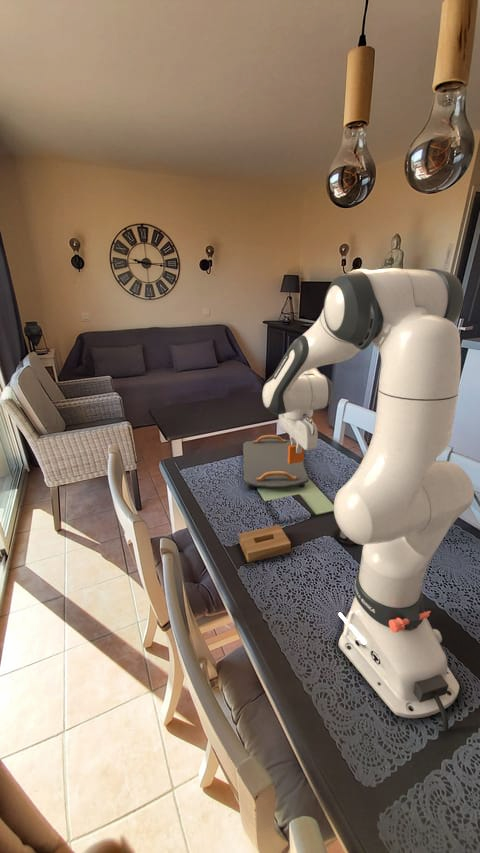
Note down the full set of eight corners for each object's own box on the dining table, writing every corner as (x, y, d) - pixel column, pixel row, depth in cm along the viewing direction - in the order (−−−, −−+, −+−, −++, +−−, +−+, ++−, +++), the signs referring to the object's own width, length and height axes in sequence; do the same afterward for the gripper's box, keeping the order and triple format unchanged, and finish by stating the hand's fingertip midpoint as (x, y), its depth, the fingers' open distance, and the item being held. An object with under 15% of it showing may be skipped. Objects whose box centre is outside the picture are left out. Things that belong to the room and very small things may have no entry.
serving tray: (311, 492, 123) (311, 476, 120) (243, 494, 123) (242, 478, 121) (295, 443, 158) (295, 430, 156) (242, 445, 159) (242, 432, 156)
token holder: (290, 554, 97) (290, 542, 95) (248, 565, 94) (247, 553, 92) (279, 535, 104) (279, 524, 102) (239, 545, 101) (238, 533, 99)
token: (303, 461, 115) (304, 444, 112) (289, 464, 113) (289, 447, 111) (302, 459, 116) (302, 443, 113) (287, 462, 114) (288, 445, 112)
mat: (337, 510, 114) (337, 509, 114) (278, 523, 109) (278, 522, 109) (308, 478, 132) (308, 477, 131) (256, 489, 126) (256, 488, 126)
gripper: (324, 420, 99) (321, 464, 104) (293, 397, 117) (292, 436, 122) (304, 423, 97) (301, 467, 103) (275, 399, 115) (274, 438, 121)
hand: (296, 450), depth 113 cm, fingers closed on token, 1 cm apart
